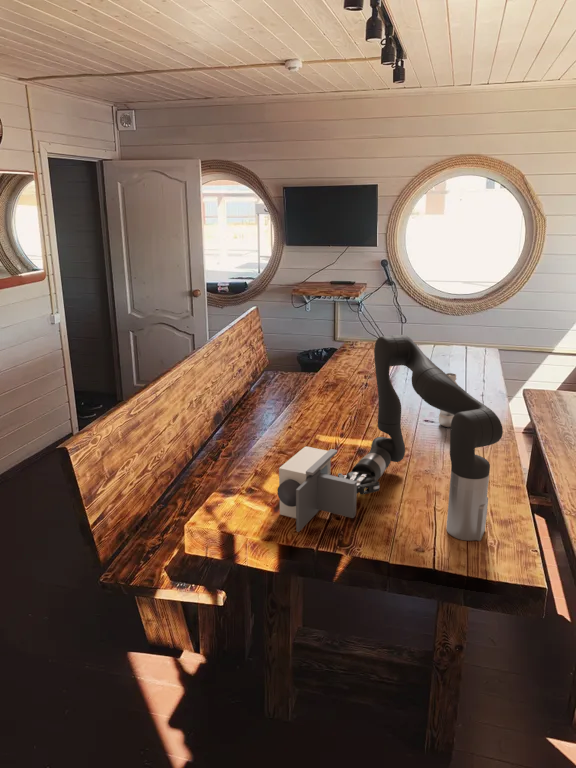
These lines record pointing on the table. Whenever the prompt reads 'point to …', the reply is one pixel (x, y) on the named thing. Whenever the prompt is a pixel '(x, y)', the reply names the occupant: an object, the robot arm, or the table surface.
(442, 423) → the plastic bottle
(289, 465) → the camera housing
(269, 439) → the table surface
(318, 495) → the side door
